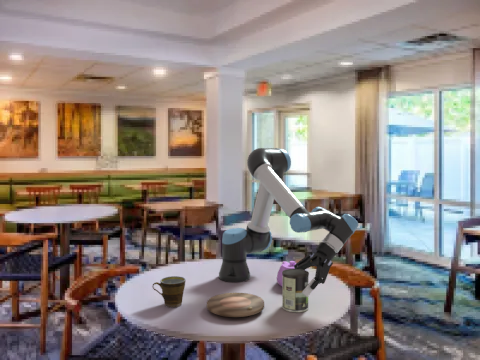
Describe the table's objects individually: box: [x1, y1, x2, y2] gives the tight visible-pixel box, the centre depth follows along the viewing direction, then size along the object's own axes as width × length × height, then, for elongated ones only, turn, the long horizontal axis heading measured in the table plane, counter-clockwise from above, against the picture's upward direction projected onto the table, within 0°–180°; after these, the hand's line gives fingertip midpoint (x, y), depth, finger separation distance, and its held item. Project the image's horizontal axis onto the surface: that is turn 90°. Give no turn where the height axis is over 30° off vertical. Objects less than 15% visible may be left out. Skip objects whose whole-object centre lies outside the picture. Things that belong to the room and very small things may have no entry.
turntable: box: [206, 292, 265, 318], centre depth 157 cm, size 22×22×4 cm
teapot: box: [276, 260, 297, 287], centre depth 185 cm, size 13×20×11 cm
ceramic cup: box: [151, 276, 186, 308], centre depth 162 cm, size 13×10×10 cm
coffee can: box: [281, 269, 310, 313], centre depth 159 cm, size 10×10×14 cm
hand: (295, 289), depth 158 cm, fingers open, 13 cm apart
